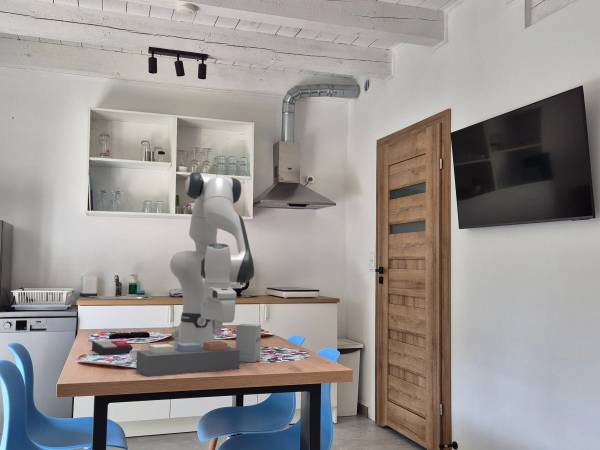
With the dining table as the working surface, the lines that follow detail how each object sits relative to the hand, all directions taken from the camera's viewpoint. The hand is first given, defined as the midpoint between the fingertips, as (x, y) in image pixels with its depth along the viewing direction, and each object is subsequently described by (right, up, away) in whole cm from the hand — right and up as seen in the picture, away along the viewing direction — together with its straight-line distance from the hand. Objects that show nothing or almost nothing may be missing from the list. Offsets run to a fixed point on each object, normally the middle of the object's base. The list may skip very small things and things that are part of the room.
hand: (216, 334), depth 186 cm
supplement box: (+9, -12, +14) cm, 21 cm away
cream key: (-16, -6, -10) cm, 19 cm away
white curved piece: (-29, -11, +7) cm, 32 cm away
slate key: (-8, -6, -5) cm, 11 cm away
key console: (-8, -10, -5) cm, 14 cm away
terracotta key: (0, -7, 0) cm, 7 cm away
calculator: (-44, -13, +28) cm, 54 cm away
